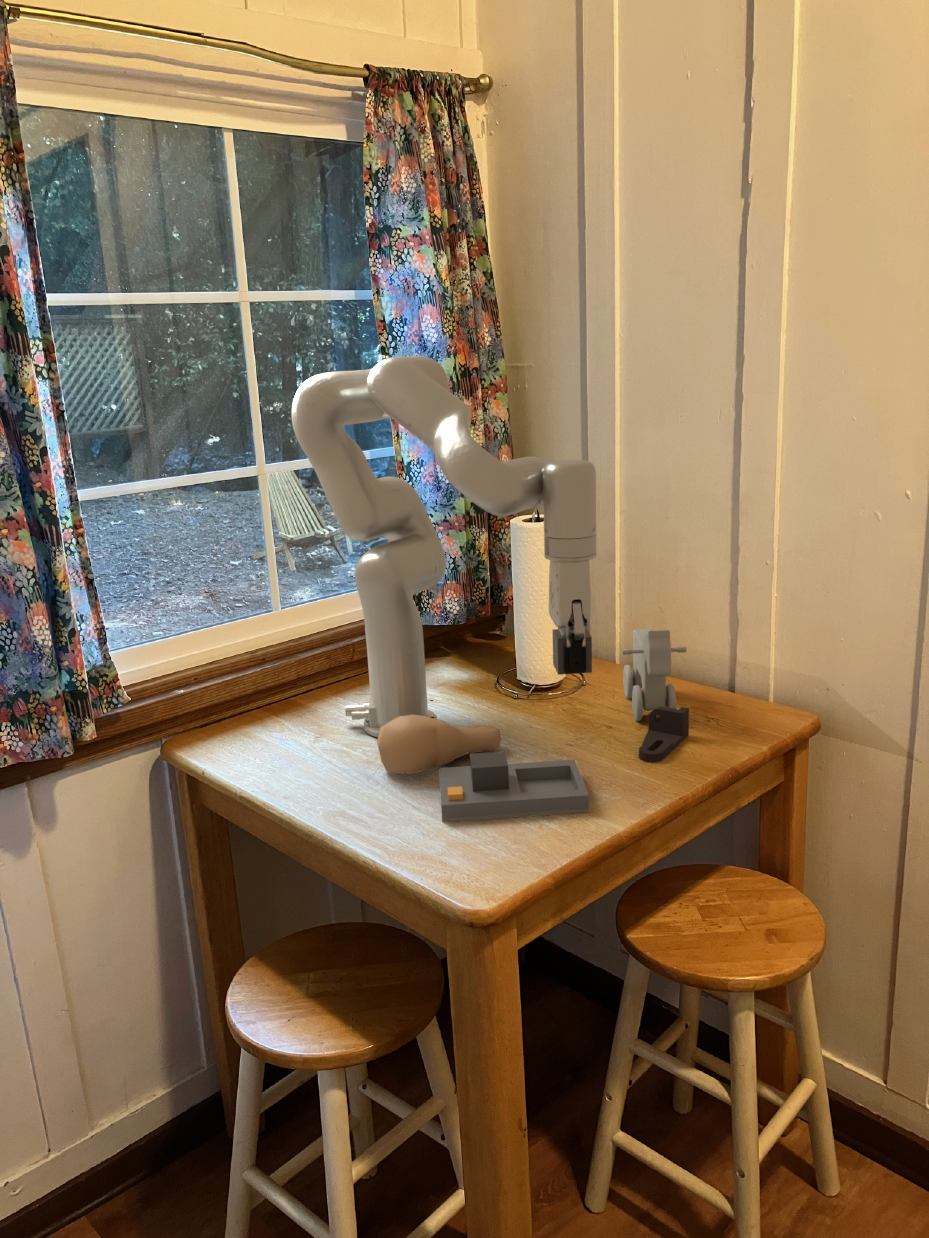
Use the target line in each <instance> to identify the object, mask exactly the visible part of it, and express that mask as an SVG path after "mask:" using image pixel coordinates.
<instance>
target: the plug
mask: <svg viewBox="0 0 929 1238" xmlns="http://www.w3.org/2000/svg"><path fill="white" fill-rule="evenodd" d="M551 631H552V665H553V667H554V669H555V670H556V673H557V675H561V676H562V675H574V674H575V675H576V674H579V673H565V671H564V647H565V646H566V640H565V627H562V628H561V629H558V628H556V629H555V628H553V629H552V630H551ZM573 631H574V630H570V635H571V633H574V632H573ZM585 642H586V672H584V673H583V674H591V673H593V658H592V657H593V656H592V655H593V650H592V649H593V648H592V646H593V645H592V644H593V643H592V635H591V634H590V632H589V631H588V629H587V627H585Z"/></svg>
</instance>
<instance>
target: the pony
mask: <svg viewBox="0 0 929 1238" xmlns="http://www.w3.org/2000/svg"><path fill="white" fill-rule="evenodd" d="M672 653H687V647H686V646H677V647H672V643H671V631H670V630H669V629H666V630H665V629H664V630H654V629H653V628H646V629H645V628H644V629H634V630H633V631H632V648H622V655H623V656H624V655H625V656H626V655H632V663H633V664H632V667H631V665H630V664H625V665H624V666H623V670H622V671H623V672H622V682H623V684H622V685H623V692H624V696H625V698H626V699H631V707H632V714H633V718H634V720H635V721H636V722H640V721H642V719H643V715H644V713H643V712H644V711H647V712H648V711H650V712H651V711H653V710H654V709H655V708H657V707H666V708H672V709H678V708H677V705H678V704H677V694H676V689H675V686H674V685H673V684H672V683H668V684H667V677H670V676H671V675H672Z"/></svg>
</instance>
